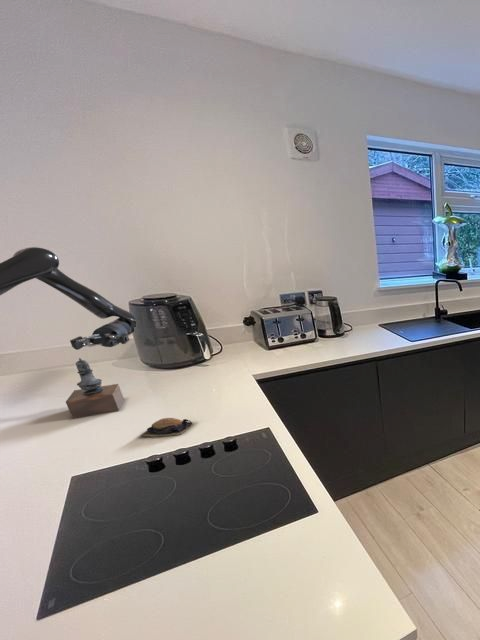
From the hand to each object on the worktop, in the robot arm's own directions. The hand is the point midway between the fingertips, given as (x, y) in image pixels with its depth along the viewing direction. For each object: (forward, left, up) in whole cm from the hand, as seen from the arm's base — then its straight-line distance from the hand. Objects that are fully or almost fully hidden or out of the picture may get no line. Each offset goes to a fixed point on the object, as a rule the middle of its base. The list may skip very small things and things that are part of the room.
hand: (92, 345), depth 137 cm
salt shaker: (-2, -11, -13) cm, 17 cm away
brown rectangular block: (-2, -11, -19) cm, 22 cm away
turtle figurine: (+18, -42, -19) cm, 50 cm away
